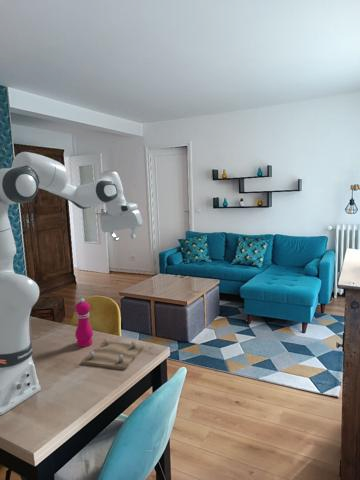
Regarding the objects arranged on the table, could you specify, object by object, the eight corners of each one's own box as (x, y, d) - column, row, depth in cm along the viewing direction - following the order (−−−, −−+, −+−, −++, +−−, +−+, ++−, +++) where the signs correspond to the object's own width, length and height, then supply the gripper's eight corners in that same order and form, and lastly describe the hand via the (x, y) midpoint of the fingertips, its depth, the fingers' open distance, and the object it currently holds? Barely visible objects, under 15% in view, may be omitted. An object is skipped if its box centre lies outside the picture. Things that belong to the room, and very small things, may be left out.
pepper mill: (95, 340, 150) (93, 296, 147) (89, 347, 143) (87, 301, 140) (79, 340, 151) (77, 295, 148) (73, 347, 143) (70, 301, 141)
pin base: (125, 369, 124) (124, 360, 124) (81, 364, 129) (80, 354, 129) (143, 348, 142) (143, 339, 141) (104, 343, 146) (103, 335, 146)
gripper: (94, 213, 152) (102, 243, 154) (132, 205, 143) (140, 238, 145) (103, 211, 157) (110, 240, 159) (140, 203, 148) (147, 234, 150)
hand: (124, 239), depth 152 cm, fingers open, 8 cm apart
